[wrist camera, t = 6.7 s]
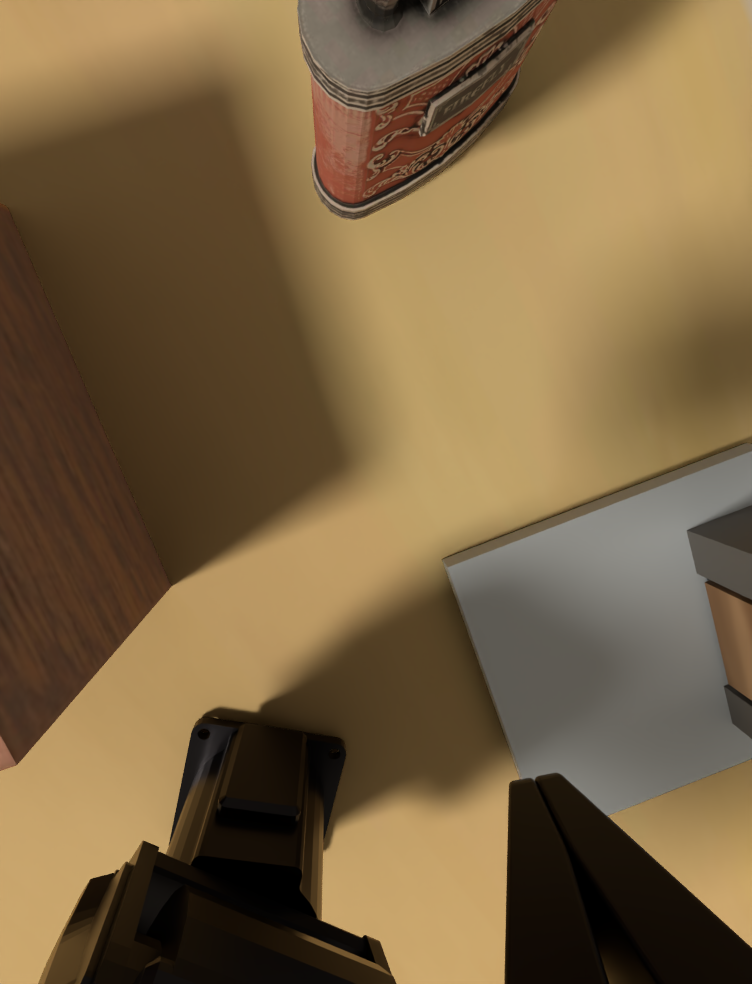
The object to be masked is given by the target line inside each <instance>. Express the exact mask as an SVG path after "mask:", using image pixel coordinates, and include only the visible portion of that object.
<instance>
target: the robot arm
mask: <svg viewBox="0 0 752 984" xmlns="http://www.w3.org/2000/svg"><path fill="white" fill-rule="evenodd" d="M201 729H207V730H209V733H203V732H202V731H201ZM332 749H337V750H339V751H338V752H336V753H332V752H330V750H332ZM345 757H346V745H345V743H344V741H343V740H342V739H340V738H337V737H330V736H324V735H318V734H311V733H305V732H302V731H296V730H290V729H283V728H277V727H271V726H264V725H258V724H252V723H242V722H235V721H229V720H223V719H216V718H210V717H203V718H201V719H199V720H198V721H197V722H196V723H195V726H194V728H193V730H192V733H191V738H190V743H189V748H188V753H187V758H186V763H185V768H184V773H183V778H182V783H181V788H180V793H179V798H178V803H177V808H176V813H175V817H174V822H173V827H172V832H171V837H170V842H169V848H168V850H167V853H166V855H165V854H163V853H161V852H158V850H159V847H157V846H155V845H153V844H150V843H148V842H146V841H142V843H141V844H140V846H139V847H138V849H137V850H136V852H135V854H134V855H133V857H132V858H131V860H130V861H129V863H128V862H125V863H124V865H123V866H122V867H121V869H120V870H116V871H115V873H112V874H108V875H104V876H100V877H96V878H93V879H90V881H89V882H88V884H87V886H86V887H85V889H84V890H83V892H82V894H81V895H80V897H79V899H78V901H77V903H76V905H75V907H74V909H73V911H72V913H71V915H70V917H69V919H68V921H67V923H66V925H65V927H64V929H63V931H62V933H61V935H60V937H59V939H58V941H57V943H56V945H55V947H54V949H53V951H52V953H51V955H50V957H49V959H48V962H47V964H46V966H45V968H44V971H43V973H42V975H41V978H40V981H39V983H38V984H396V982H395V979H394V977H393V976H392V974H391V971H390V968H389V966H388V963H387V960H386V957H385V955H384V952H383V949H382V946H381V943H380V942H379V941H378V940H376V939H373V938H371V937H369V936H366V935H364V936H363V937H362V938H361V937H359V936H356V935H354V934H352V933H349V932H347V931H345V930H342V929H340V928H338V927H335V926H333V925H331V924H328V923H326V922H323V921H321V919H322V873H323V842H324V838H325V834H326V830H327V826H328V822H329V819H330V815H331V811H332V807H333V803H334V799H335V796H336V792H337V788H338V784H339V780H340V776H341V773H342V769H343V765H344V761H345ZM505 984H752V948H751V947H750V946H749V945H748V944H747V943H746V942H745V941H744V940H742V939H741V938H740V937H739V936H738V935H737V934H736V933H735V932H734V931H733V930H732V929H730V928H729V927H728V926H727V925H726V924H725V923H724V922H723V921H722V920H721V919H719V918H718V917H717V916H716V915H715V914H714V913H713V912H712V911H711V910H710V909H708V908H707V907H706V906H705V905H704V904H703V903H702V902H701V901H700V900H699V899H698V898H696V897H695V896H694V895H693V894H692V893H691V892H690V891H689V890H688V889H687V888H685V887H684V886H683V885H682V884H681V883H680V882H679V881H678V880H677V879H676V878H675V877H673V876H672V875H671V874H670V873H669V872H668V871H667V870H666V869H665V868H664V867H662V866H661V865H660V864H659V863H658V862H657V861H656V860H655V859H654V858H653V857H652V856H650V855H649V854H648V853H647V852H646V851H645V850H644V849H643V848H642V847H641V846H639V845H638V844H637V843H636V842H635V841H634V840H633V839H632V838H631V837H630V836H628V835H627V834H626V833H625V832H624V831H623V830H622V829H621V828H620V827H619V826H618V825H616V824H615V823H614V822H613V821H612V820H611V819H610V818H609V817H608V816H607V815H605V814H604V813H603V812H602V811H601V810H600V809H599V808H598V807H597V806H596V805H595V804H593V803H592V802H591V801H590V800H589V799H588V798H587V797H586V796H585V795H584V794H582V793H581V792H580V791H579V790H578V789H577V788H576V787H575V786H574V785H573V784H571V783H570V782H569V781H568V780H567V779H566V778H565V777H564V776H563V775H561V774H560V773H550V774H545V775H540V776H537V777H536V778H535V781H534V779H532V778H525V779H520V780H515V781H512V782H510V784H509V806H508V851H507V896H506V940H505Z"/></svg>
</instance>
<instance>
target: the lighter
mask: <svg viewBox="0 0 752 984" xmlns="http://www.w3.org/2000/svg"><path fill="white" fill-rule="evenodd" d="M556 2H557V0H298V7H297V11H298V22H299V33H300V40H301V45H302V51H303V56H304V60H305V62H306V64H307V66H308V68H309V70H310V72H311V85H312V99H313V114H314V129H315V144H316V145H315V147H314V149H313V155H312V163H311V165H312V176H313V181H314V187H315V190H316V192H317V194H318V196H319V198H320V200H321V202H322V203H323V204H324V205H325V206H326V207H327V208H328V210H329V211H330V212H332V213H334V214H335V215H337V216H339V217H340V218H343V219H349V220H357V219H361V218H364V217H366V216H368V215H370V214H372V213H374V212H376V211H378V210H380V209H382V208H384V207H386V206H388V205H390V204H392V203H394V202H396V201H398V200H400V199H402V198H404V197H405V196H407V195H408V194H410V193H411V192H413V191H414V190H416V189H417V188H419V187H420V186H422V185H423V184H425V183H426V182H428V181H429V180H431V179H432V178H434V177H435V176H437V175H438V174H440V173H441V172H442V171H443V170H444V169H445V168H446V167H447V166H448V165H449V164H451V163H452V162H453V161H454V160H455V159H456V158H457V157H458V156H459V155H460V154H462V153H463V152H464V151H465V150H466V149H467V148H468V147H469V146H470V145H471V144H473V143H474V141H475V140H476V139H477V138H478V137H479V136H480V134H481V133H482V132H483V131H484V130H485V129H486V128H487V126H488V125H489V124H490V123H491V122H492V121H493V119H494V118H495V117H496V116H497V115H498V114H499V112H500V111H501V110H502V109H503V108H504V106H505V104H506V102H507V101H508V99H509V97H510V96H511V94H512V92H513V90H514V89H515V87H516V85H517V83H518V79H519V74H520V66H521V64H522V62H523V61H524V59H525V57H526V55H527V53H528V52H529V50H530V48H531V46H532V45H533V43H534V41H535V39H536V37H537V36H538V34H539V32H540V30H541V29H542V27H543V25H544V23H545V21H546V20H547V18H548V16H549V14H550V13H551V11H552V9H553V7H554V5H555V4H556Z"/></svg>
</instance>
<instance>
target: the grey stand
mask: <svg viewBox="0 0 752 984" xmlns="http://www.w3.org/2000/svg"><path fill="white" fill-rule="evenodd" d="M442 561H443V564H444V567H445V570H446V572H447V575H448V578H449V581H450V584H451V586H452V589H453V592H454V595H455V598H456V600H457V603H458V606H459V609H460V612H461V614H462V617H463V620H464V623H465V626H466V628H467V631H468V634H469V637H470V640H471V643H472V645H473V648H474V651H475V654H476V657H477V659H478V662H479V665H480V668H481V671H482V673H483V676H484V679H485V682H486V685H487V687H488V690H489V693H490V696H491V699H492V701H493V704H494V707H495V710H496V713H497V715H498V718H499V721H500V724H501V727H502V729H503V732H504V735H505V738H506V741H507V744H508V746H509V749H510V752H511V755H512V758H513V760H514V763H515V766H516V769H517V772H518V774H519V777H520V779H525V778H532V779H534V781H535V778H536V777H537V776H540V775H545V774H550V773H560V774H561V775H563V776H564V777H565V778H566V779H567V780H568V781H569V782H570V783H571V784H573V785H574V786H575V787H576V788H577V789H578V790H579V791H580V792H581V793H582V794H584V795H585V796H586V797H587V798H588V799H589V800H590V801H591V802H592V803H593V804H595V805H596V806H597V807H598V808H599V809H600V810H601V811H602V812H603V813H604V814H605V815H607V816H608V815H611V814H613V813H616V812H618V811H621V810H624V809H626V808H629V807H631V806H634V805H636V804H639V803H641V802H644V801H646V800H649V799H651V798H654V797H657V796H659V795H662V794H664V793H667V792H669V791H672V790H674V789H677V788H679V787H682V786H684V785H687V784H690V783H692V782H695V781H697V780H700V779H702V778H705V777H707V776H710V775H712V774H715V773H717V772H720V771H723V770H725V769H728V768H730V767H733V766H735V765H738V764H740V763H743V762H745V761H748V760H750V759H752V701H751V700H750V699H749V698H747V697H746V696H744V695H743V694H742V693H740V692H739V691H738V690H736V689H735V688H733V687H732V686H731V685H729V684H728V680H727V676H726V672H725V667H724V663H723V659H722V655H721V650H720V646H719V642H718V637H717V633H716V629H715V625H714V620H713V616H712V612H711V608H710V603H709V599H708V595H707V591H706V586H705V582H706V581H709V580H711V581H713V582H715V583H718V584H720V585H722V586H724V587H726V588H728V589H730V590H732V591H734V592H736V593H739V594H741V595H743V596H745V597H747V598H749V599H751V600H752V443H745V444H742V445H740V446H737V447H734V448H732V449H729V450H727V451H724V452H721V453H719V454H716V455H713V456H711V457H708V458H706V459H703V460H700V461H698V462H695V463H693V464H690V465H687V466H685V467H682V468H679V469H677V470H674V471H672V472H669V473H666V474H664V475H661V476H659V477H656V478H653V479H651V480H648V481H646V482H643V483H640V484H638V485H635V486H632V487H630V488H627V489H625V490H622V491H619V492H617V493H614V494H612V495H609V496H606V497H604V498H601V499H598V500H596V501H593V502H591V503H588V504H585V505H583V506H580V507H578V508H575V509H572V510H570V511H567V512H565V513H562V514H559V515H557V516H554V517H551V518H549V519H546V520H544V521H541V522H538V523H536V524H533V525H531V526H528V527H525V528H523V529H520V530H517V531H515V532H512V533H510V534H507V535H504V536H502V537H499V538H497V539H494V540H491V541H489V542H486V543H484V544H481V545H478V546H476V547H473V548H470V549H468V550H465V551H463V552H460V553H457V554H455V555H452V556H450V557H447V558H444V559H442Z"/></svg>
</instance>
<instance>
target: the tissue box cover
mask: <svg viewBox="0 0 752 984" xmlns="http://www.w3.org/2000/svg"><path fill="white" fill-rule="evenodd" d="M170 587H171V584H170V582H169V580H168V577H167V575H166V573H165V571H164V568H163V566H162V564H161V561H160V559H159V557H158V554H157V552H156V550H155V547H154V545H153V543H152V540H151V538H150V536H149V533H148V531H147V529H146V527H145V524H144V522H143V520H142V517H141V515H140V513H139V510H138V508H137V506H136V503H135V501H134V499H133V496H132V494H131V492H130V489H129V487H128V485H127V483H126V480H125V478H124V476H123V473H122V471H121V469H120V466H119V464H118V462H117V459H116V457H115V455H114V452H113V450H112V448H111V445H110V443H109V441H108V439H107V436H106V434H105V432H104V429H103V427H102V425H101V422H100V420H99V418H98V415H97V413H96V411H95V408H94V406H93V404H92V401H91V399H90V397H89V395H88V392H87V390H86V388H85V385H84V383H83V381H82V378H81V376H80V374H79V371H78V369H77V367H76V364H75V362H74V360H73V357H72V355H71V353H70V351H69V348H68V346H67V344H66V341H65V339H64V337H63V334H62V332H61V330H60V327H59V325H58V323H57V320H56V318H55V316H54V313H53V311H52V309H51V307H50V304H49V302H48V300H47V297H46V295H45V293H44V290H43V288H42V286H41V283H40V281H39V279H38V276H37V274H36V272H35V270H34V267H33V265H32V263H31V260H30V258H29V256H28V253H27V251H26V249H25V246H24V244H23V242H22V239H21V237H20V235H19V232H18V230H17V228H16V226H15V223H14V221H13V219H12V216H11V214H10V212H9V209H8V207H6V206H5V205H3V204H1V203H0V771H1V770H4V769H7V768H10V767H13V766H16V765H17V764H18V763H19V762H20V761H21V760H22V759H23V757H24V756H25V755H26V754H27V753H28V752H29V750H30V749H31V748H32V747H33V746H34V745H35V744H36V742H37V741H38V740H39V739H40V738H41V737H42V735H43V734H44V733H45V732H46V731H47V730H48V729H49V727H50V726H51V725H52V724H53V723H54V722H55V720H56V719H57V718H58V717H59V716H60V715H61V713H62V712H63V711H64V710H65V709H66V708H67V707H68V705H69V704H70V703H71V702H72V701H73V700H74V698H75V697H76V696H77V695H78V694H79V693H80V692H81V690H82V689H83V688H84V687H85V686H86V685H87V683H88V682H89V681H90V680H91V679H92V678H93V676H94V675H95V674H96V673H97V672H98V671H99V670H100V668H101V667H102V666H103V665H104V664H105V663H106V661H107V660H108V659H109V658H110V657H111V656H112V654H113V653H114V652H115V651H116V650H117V649H118V648H119V646H120V645H121V644H122V643H123V642H124V641H125V639H126V638H127V637H128V636H129V635H130V634H131V633H132V631H133V630H134V629H135V628H136V627H137V626H138V624H139V623H140V622H141V621H142V620H143V619H144V617H145V616H146V615H147V614H148V613H149V612H150V611H151V609H152V608H153V607H154V606H155V605H156V604H157V602H158V601H159V600H160V599H161V598H162V597H163V595H164V594H165V593H166V592H167V591H168V590H169V589H170Z"/></svg>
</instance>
